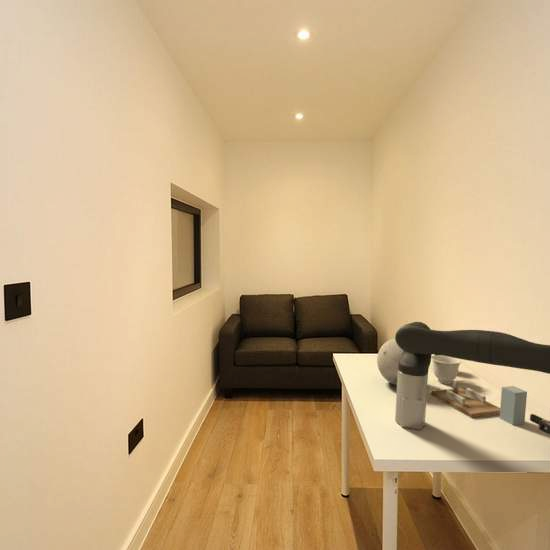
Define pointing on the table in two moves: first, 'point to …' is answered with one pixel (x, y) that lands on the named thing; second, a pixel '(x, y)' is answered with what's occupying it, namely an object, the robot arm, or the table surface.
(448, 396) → the plate
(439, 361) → the teacup
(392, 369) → the moon model
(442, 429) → the table surface
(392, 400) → the table surface
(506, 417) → the block
